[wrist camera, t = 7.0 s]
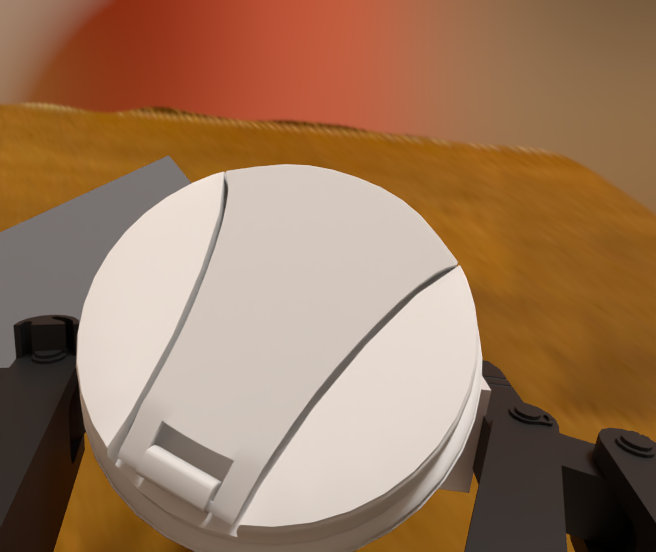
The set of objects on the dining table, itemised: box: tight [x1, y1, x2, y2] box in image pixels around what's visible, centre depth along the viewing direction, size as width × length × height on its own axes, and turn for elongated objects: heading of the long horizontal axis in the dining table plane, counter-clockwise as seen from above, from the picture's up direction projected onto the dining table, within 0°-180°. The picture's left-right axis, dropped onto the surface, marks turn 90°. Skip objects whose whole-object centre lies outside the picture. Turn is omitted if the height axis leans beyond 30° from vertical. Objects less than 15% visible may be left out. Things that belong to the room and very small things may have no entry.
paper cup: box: [76, 164, 482, 552], centre depth 13 cm, size 8×8×14 cm
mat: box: [0, 156, 192, 368], centre depth 25 cm, size 16×13×1 cm
